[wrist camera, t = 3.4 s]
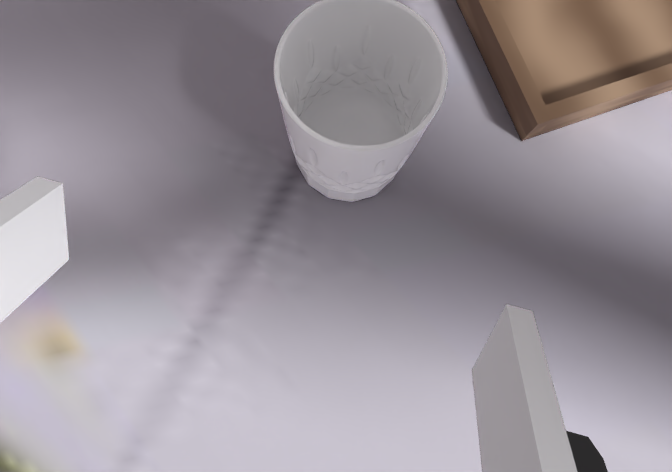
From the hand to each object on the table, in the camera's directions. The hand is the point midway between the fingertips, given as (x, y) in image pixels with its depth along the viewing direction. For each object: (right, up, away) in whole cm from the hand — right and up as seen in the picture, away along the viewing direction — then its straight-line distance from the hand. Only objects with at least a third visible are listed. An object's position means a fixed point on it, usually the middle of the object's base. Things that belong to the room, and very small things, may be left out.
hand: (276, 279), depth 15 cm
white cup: (+3, +7, +18) cm, 19 cm away
